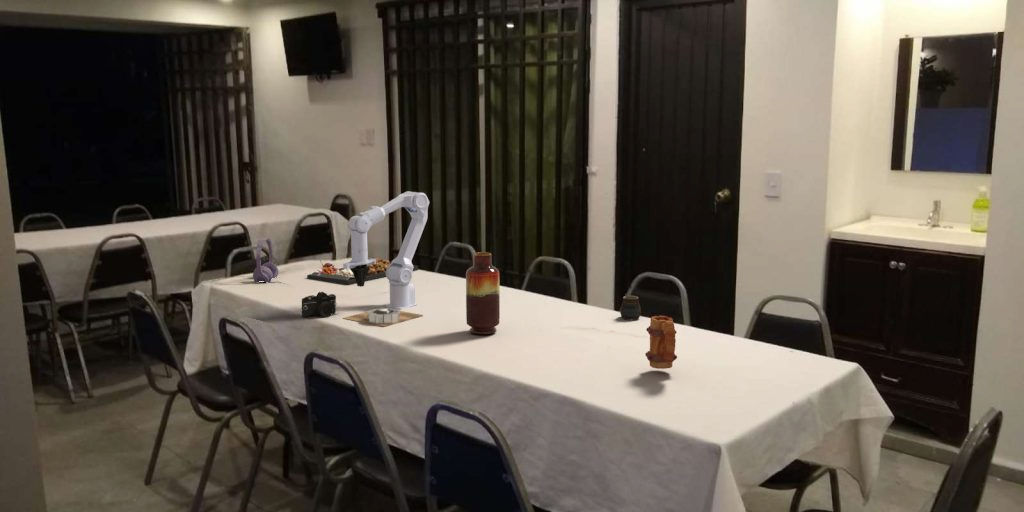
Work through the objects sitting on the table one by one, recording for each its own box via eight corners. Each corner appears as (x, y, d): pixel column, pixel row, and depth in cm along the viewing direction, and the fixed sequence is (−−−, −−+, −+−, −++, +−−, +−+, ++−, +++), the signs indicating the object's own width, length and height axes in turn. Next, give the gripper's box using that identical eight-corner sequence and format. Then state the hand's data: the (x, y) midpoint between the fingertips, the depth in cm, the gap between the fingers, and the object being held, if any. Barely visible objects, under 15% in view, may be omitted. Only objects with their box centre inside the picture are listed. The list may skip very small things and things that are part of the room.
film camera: (303, 322, 287) (312, 297, 285) (295, 312, 293) (303, 287, 291) (337, 325, 296) (346, 300, 294) (329, 315, 302) (337, 291, 299)
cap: (382, 317, 291) (382, 307, 290) (393, 319, 288) (393, 309, 288) (373, 320, 287) (372, 310, 286) (383, 322, 284) (383, 312, 284)
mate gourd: (643, 318, 292) (644, 290, 290) (637, 322, 285) (637, 294, 284) (623, 316, 295) (624, 288, 293) (617, 320, 288) (617, 292, 287)
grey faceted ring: (383, 315, 295) (382, 306, 295) (405, 319, 289) (405, 310, 288) (360, 320, 286) (360, 312, 286) (383, 325, 280) (383, 316, 280)
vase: (504, 328, 277) (504, 251, 273) (492, 336, 267) (492, 256, 263) (473, 326, 281) (473, 250, 277) (461, 333, 270) (460, 255, 266)
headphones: (269, 287, 349) (266, 240, 346) (249, 287, 349) (247, 240, 346) (281, 279, 367) (279, 234, 364) (263, 279, 367) (261, 234, 364)
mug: (642, 362, 237) (643, 311, 234) (670, 362, 237) (671, 311, 235) (655, 378, 222) (656, 323, 220) (684, 377, 223) (686, 323, 221)
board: (382, 308, 307) (382, 307, 307) (423, 316, 295) (423, 314, 295) (342, 319, 291) (342, 318, 291) (383, 326, 279) (383, 325, 279)
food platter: (348, 291, 343) (347, 266, 341) (307, 285, 356) (306, 261, 355) (418, 275, 380) (417, 253, 379) (378, 270, 394) (378, 248, 392)
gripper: (366, 245, 305) (367, 281, 307) (336, 250, 294) (338, 288, 296) (379, 247, 301) (380, 283, 303) (350, 252, 290) (351, 290, 292)
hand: (360, 286), depth 299 cm, fingers closed
